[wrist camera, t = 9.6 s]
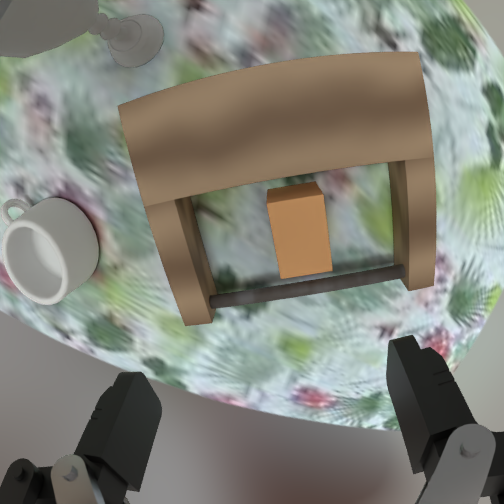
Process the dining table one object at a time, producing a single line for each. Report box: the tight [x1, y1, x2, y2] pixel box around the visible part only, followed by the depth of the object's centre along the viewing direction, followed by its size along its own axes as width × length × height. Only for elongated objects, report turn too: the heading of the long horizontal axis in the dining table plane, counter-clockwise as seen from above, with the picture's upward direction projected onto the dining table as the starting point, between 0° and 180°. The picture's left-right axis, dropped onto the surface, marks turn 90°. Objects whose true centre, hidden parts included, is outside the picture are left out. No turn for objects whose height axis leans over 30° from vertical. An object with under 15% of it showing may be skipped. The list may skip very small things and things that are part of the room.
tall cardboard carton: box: [267, 182, 333, 279], centre depth 25 cm, size 6×4×4 cm, turn 11°
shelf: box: [118, 52, 436, 326], centre depth 24 cm, size 19×22×4 cm
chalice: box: [0, 0, 164, 68], centre depth 13 cm, size 7×7×18 cm
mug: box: [1, 197, 99, 305], centre depth 26 cm, size 12×10×6 cm
